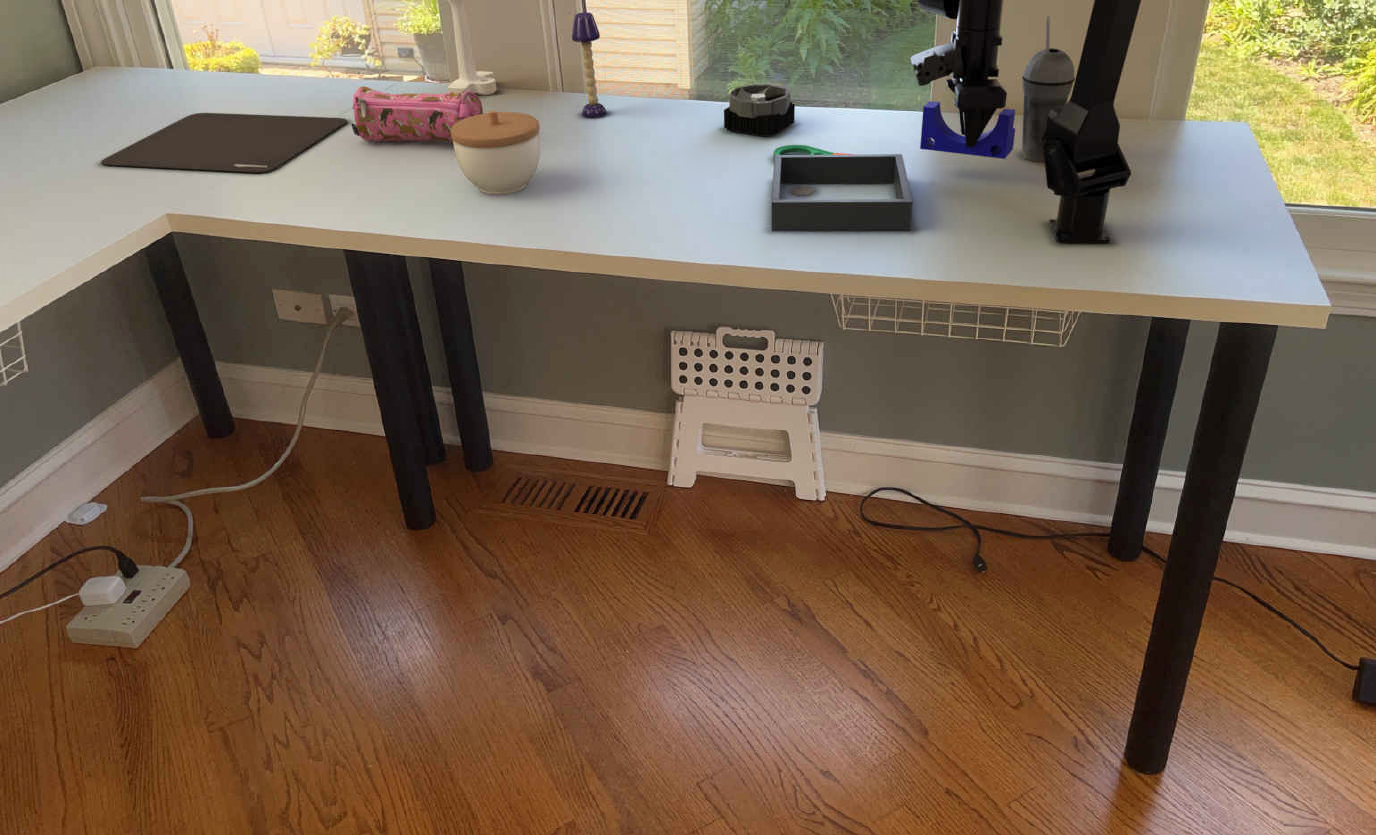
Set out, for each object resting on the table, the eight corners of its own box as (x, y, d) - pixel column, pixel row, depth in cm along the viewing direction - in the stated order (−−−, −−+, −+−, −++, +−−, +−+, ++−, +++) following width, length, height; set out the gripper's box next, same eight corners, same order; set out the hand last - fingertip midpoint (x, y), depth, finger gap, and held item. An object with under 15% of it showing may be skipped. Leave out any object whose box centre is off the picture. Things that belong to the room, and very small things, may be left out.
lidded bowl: (464, 206, 156) (452, 130, 150) (455, 177, 167) (444, 104, 161) (552, 194, 159) (543, 119, 153) (538, 166, 169) (530, 94, 163)
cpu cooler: (747, 80, 184) (801, 87, 179) (747, 114, 187) (801, 121, 182) (716, 97, 177) (772, 104, 172) (717, 131, 180) (772, 140, 175)
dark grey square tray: (910, 231, 143) (912, 201, 141) (771, 231, 145) (771, 202, 143) (900, 181, 158) (902, 154, 156) (774, 181, 160) (774, 155, 158)
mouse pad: (94, 164, 178) (94, 163, 178) (194, 113, 200) (194, 112, 199) (268, 173, 171) (267, 172, 171) (351, 119, 193) (351, 118, 192)
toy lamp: (575, 117, 189) (565, 16, 180) (585, 109, 193) (576, 10, 184) (601, 118, 188) (592, 17, 179) (610, 110, 192) (603, 11, 183)
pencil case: (351, 148, 180) (339, 94, 175) (378, 130, 187) (368, 77, 183) (470, 155, 175) (462, 99, 170) (494, 136, 182) (487, 82, 177)
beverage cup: (1065, 165, 161) (1086, 23, 150) (1013, 163, 162) (1031, 23, 151) (1061, 148, 167) (1081, 11, 156) (1011, 147, 168) (1028, 10, 157)
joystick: (474, 82, 210) (458, -29, 199) (509, 85, 208) (495, -28, 197) (444, 99, 201) (425, -16, 190) (480, 102, 199) (463, -15, 188)
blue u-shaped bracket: (1012, 149, 155) (1017, 106, 152) (1004, 159, 152) (1009, 115, 149) (929, 139, 160) (933, 98, 157) (920, 148, 157) (923, 106, 153)
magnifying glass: (767, 163, 166) (767, 152, 165) (781, 150, 171) (781, 140, 170) (865, 174, 161) (866, 163, 160) (876, 160, 165) (877, 149, 164)
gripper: (911, 11, 155) (904, 121, 164) (923, 45, 140) (914, 164, 148) (992, 9, 154) (980, 120, 162) (1013, 43, 138) (999, 163, 147)
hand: (967, 140), depth 155 cm, fingers closed on blue u-shaped bracket, 5 cm apart
